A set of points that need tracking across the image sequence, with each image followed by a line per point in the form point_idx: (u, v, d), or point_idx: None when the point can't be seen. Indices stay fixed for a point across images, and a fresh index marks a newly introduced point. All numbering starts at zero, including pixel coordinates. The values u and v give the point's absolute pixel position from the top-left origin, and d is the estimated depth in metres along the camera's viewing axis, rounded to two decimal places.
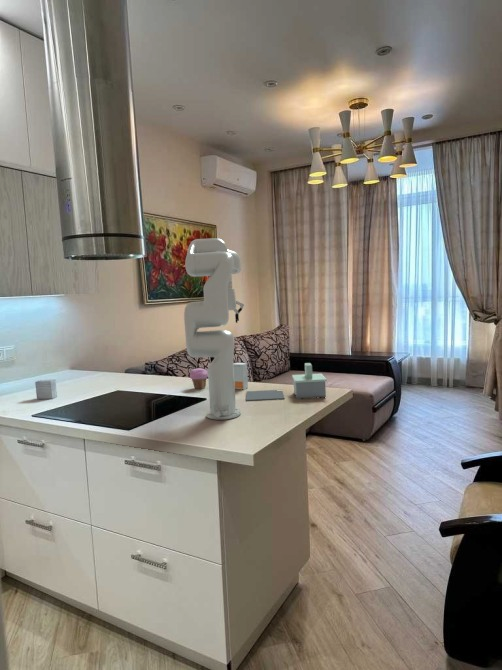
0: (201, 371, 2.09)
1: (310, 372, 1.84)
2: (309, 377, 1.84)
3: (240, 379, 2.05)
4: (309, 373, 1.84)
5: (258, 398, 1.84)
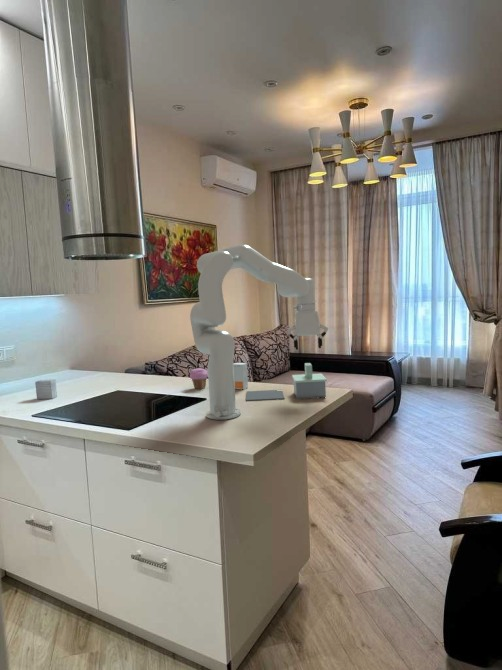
0: (201, 371, 2.09)
1: (310, 372, 1.84)
2: (309, 377, 1.84)
3: (240, 379, 2.05)
4: (309, 373, 1.84)
5: (258, 398, 1.84)
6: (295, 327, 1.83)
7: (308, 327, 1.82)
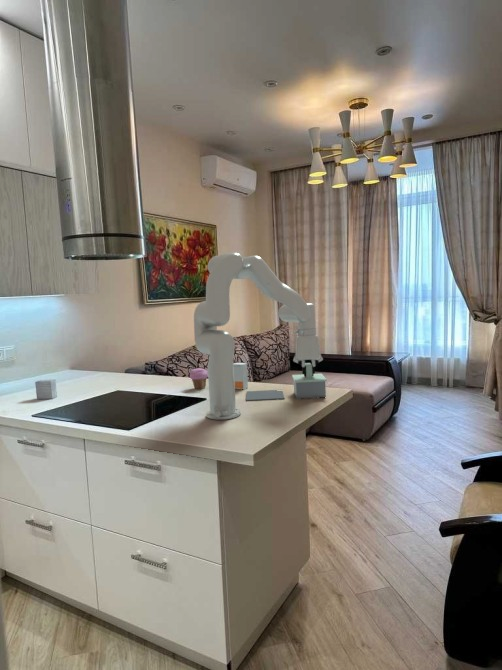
0: (201, 371, 2.09)
1: (310, 372, 1.84)
2: (309, 377, 1.84)
3: (240, 379, 2.05)
4: (309, 373, 1.84)
5: (258, 398, 1.84)
6: (296, 351, 1.84)
7: (309, 352, 1.83)
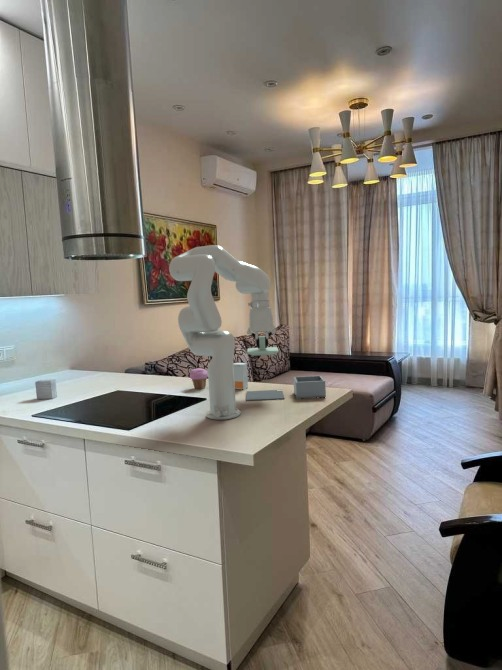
0: (201, 371, 2.09)
1: (263, 344, 1.86)
2: (262, 349, 1.86)
3: (240, 379, 2.05)
4: (262, 345, 1.86)
5: (258, 398, 1.84)
6: (249, 323, 1.86)
7: (261, 324, 1.85)
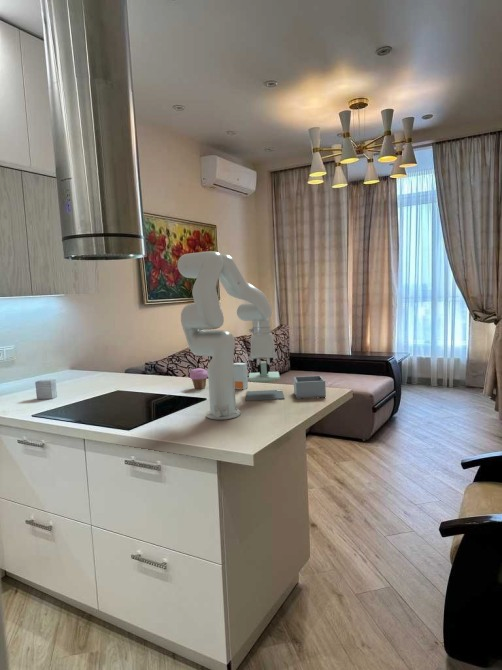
0: (201, 371, 2.09)
1: (264, 370, 1.87)
2: (264, 375, 1.87)
3: (240, 379, 2.05)
4: (263, 371, 1.87)
5: (258, 398, 1.84)
6: None
7: (263, 350, 1.86)
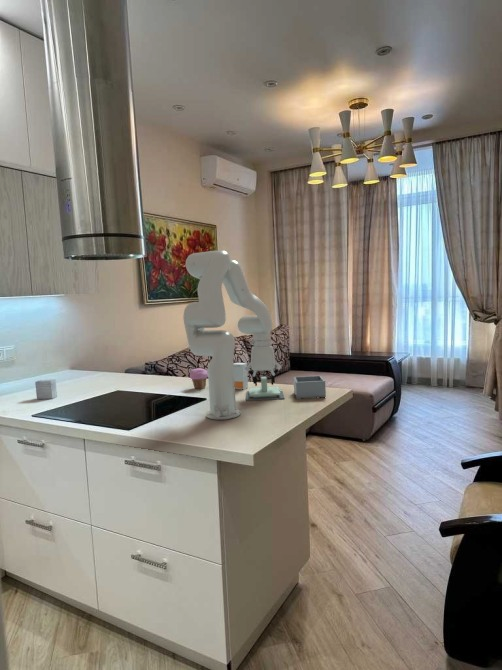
0: (201, 371, 2.09)
1: (265, 386, 1.87)
2: (264, 391, 1.87)
3: (240, 379, 2.05)
4: (264, 387, 1.87)
5: (258, 398, 1.84)
6: (251, 362, 1.88)
7: (263, 362, 1.87)
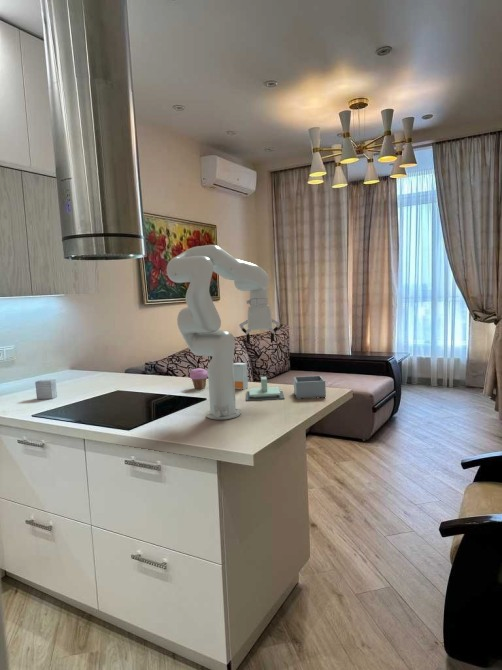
0: (201, 371, 2.09)
1: (265, 386, 1.87)
2: (264, 391, 1.87)
3: (240, 379, 2.05)
4: (264, 387, 1.87)
5: (258, 398, 1.84)
6: (247, 321, 1.85)
7: (260, 321, 1.84)
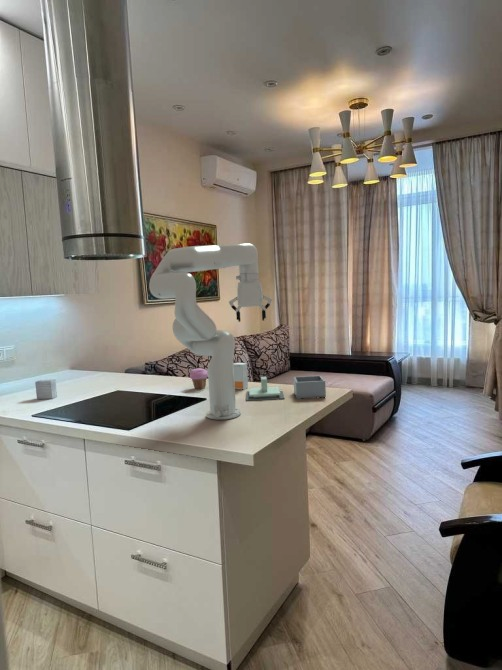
0: (201, 371, 2.09)
1: (265, 386, 1.87)
2: (264, 391, 1.87)
3: (240, 379, 2.05)
4: (264, 387, 1.87)
5: (258, 398, 1.84)
6: (237, 298, 1.75)
7: (250, 298, 1.74)
